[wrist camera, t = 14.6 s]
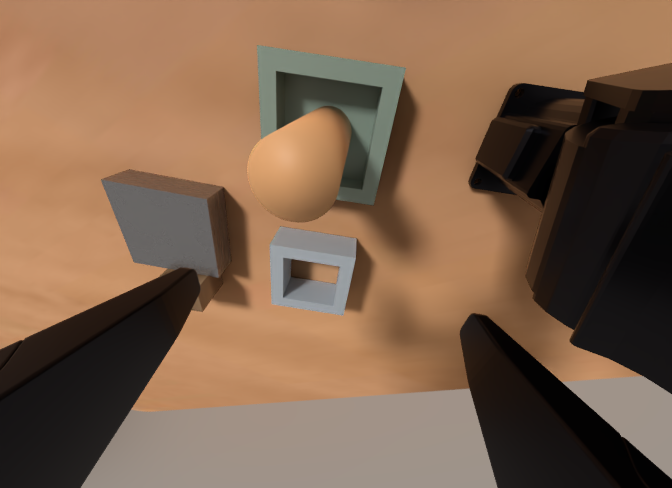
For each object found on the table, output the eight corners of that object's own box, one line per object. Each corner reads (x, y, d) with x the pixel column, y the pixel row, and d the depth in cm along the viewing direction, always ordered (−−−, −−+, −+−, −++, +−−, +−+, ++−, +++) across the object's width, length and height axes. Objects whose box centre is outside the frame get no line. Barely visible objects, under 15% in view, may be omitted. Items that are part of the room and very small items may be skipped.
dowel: (355, 109, 16) (346, 138, 7) (347, 159, 17) (333, 228, 9) (306, 102, 16) (242, 123, 7) (304, 152, 17) (250, 215, 9)
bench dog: (218, 262, 25) (196, 289, 22) (222, 283, 27) (202, 311, 23) (180, 256, 25) (152, 282, 22) (187, 277, 27) (162, 305, 23)
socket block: (356, 238, 22) (355, 258, 19) (345, 293, 26) (343, 315, 23) (280, 226, 22) (269, 244, 19) (280, 282, 26) (271, 304, 23)
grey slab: (225, 185, 20) (206, 199, 18) (233, 258, 25) (218, 277, 22) (132, 168, 20) (100, 179, 18) (156, 244, 25) (133, 262, 22)
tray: (399, 70, 15) (405, 67, 13) (372, 192, 19) (373, 205, 17) (272, 50, 15) (257, 44, 13) (274, 177, 19) (263, 188, 17)
